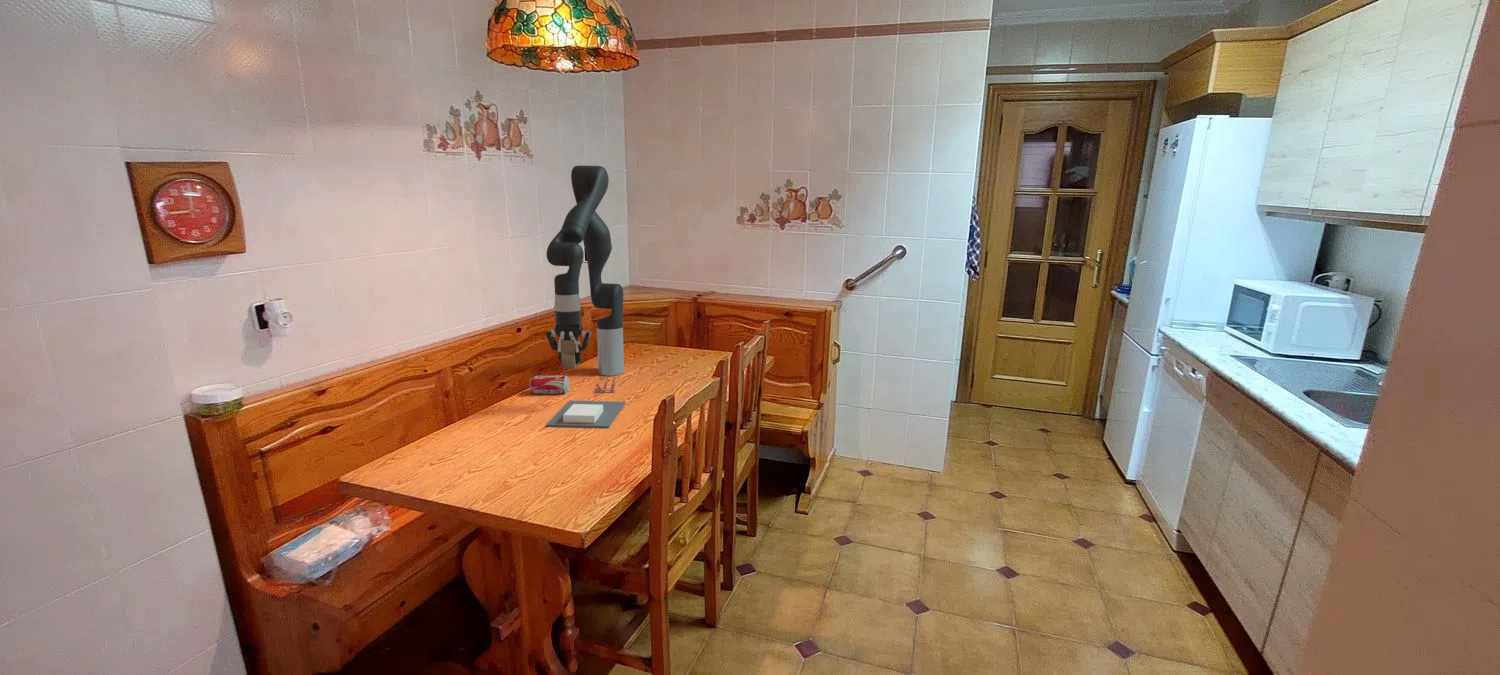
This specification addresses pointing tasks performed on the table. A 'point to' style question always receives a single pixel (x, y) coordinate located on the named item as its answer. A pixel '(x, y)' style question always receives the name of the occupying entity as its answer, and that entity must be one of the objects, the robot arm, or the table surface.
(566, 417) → the tile
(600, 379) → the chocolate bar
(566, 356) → the block
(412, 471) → the table surface
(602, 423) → the mat
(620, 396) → the table surface
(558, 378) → the beverage can
